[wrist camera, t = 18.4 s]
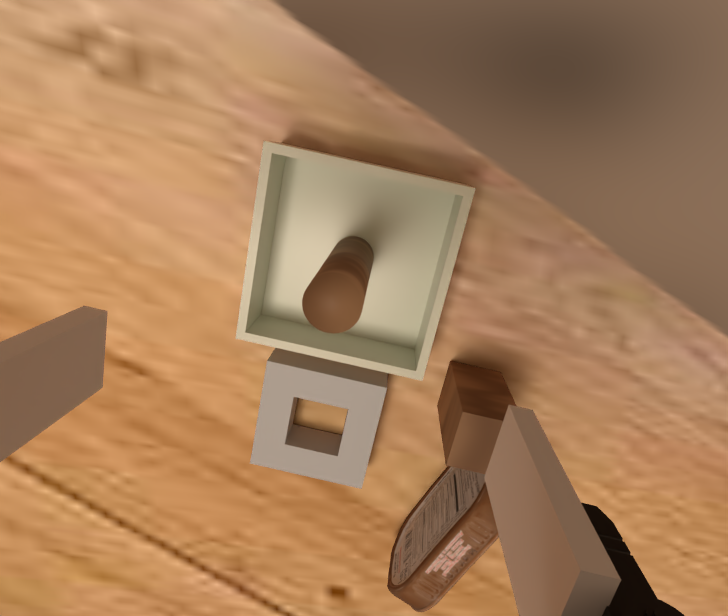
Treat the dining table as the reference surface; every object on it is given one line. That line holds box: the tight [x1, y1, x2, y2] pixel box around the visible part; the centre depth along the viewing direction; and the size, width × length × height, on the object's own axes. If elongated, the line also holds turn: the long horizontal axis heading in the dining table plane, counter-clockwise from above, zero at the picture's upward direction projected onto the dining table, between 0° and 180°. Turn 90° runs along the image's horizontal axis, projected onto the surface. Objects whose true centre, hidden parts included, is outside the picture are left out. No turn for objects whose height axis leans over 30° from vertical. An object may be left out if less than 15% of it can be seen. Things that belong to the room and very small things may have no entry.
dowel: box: [302, 236, 374, 333], centre depth 30 cm, size 3×3×12 cm
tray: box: [236, 141, 476, 381], centre depth 34 cm, size 13×13×5 cm
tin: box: [387, 466, 499, 612], centre depth 38 cm, size 15×3×8 cm, turn 148°
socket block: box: [250, 348, 388, 489], centre depth 39 cm, size 9×9×3 cm
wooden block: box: [437, 361, 516, 474], centre depth 35 cm, size 4×4×8 cm
